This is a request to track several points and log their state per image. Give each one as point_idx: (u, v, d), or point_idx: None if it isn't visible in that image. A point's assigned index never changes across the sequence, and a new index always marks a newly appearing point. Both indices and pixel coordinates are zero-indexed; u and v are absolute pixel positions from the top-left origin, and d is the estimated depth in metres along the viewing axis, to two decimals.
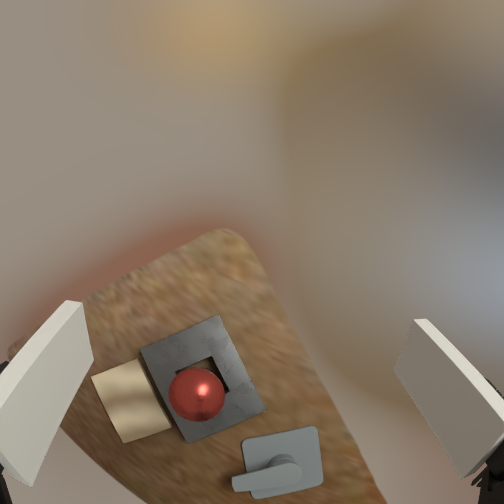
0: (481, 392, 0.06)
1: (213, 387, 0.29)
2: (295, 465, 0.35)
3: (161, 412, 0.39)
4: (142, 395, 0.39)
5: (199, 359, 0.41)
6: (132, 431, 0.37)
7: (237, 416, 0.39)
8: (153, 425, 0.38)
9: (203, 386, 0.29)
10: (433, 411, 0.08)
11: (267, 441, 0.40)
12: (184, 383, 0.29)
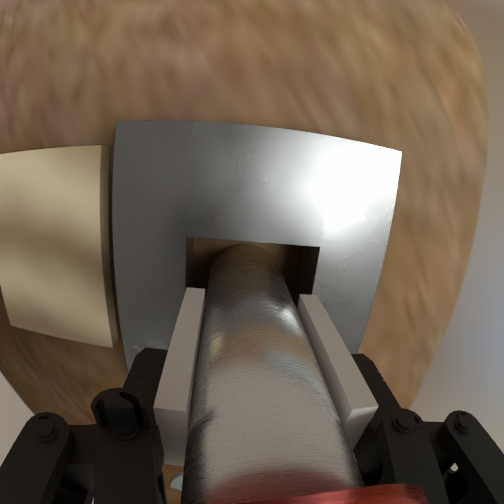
0: (336, 367, 0.08)
1: None
2: None
3: (102, 308, 0.16)
4: (73, 248, 0.14)
5: (280, 239, 0.13)
6: (29, 313, 0.15)
7: None
8: (75, 325, 0.16)
9: None
10: None
11: None
12: None
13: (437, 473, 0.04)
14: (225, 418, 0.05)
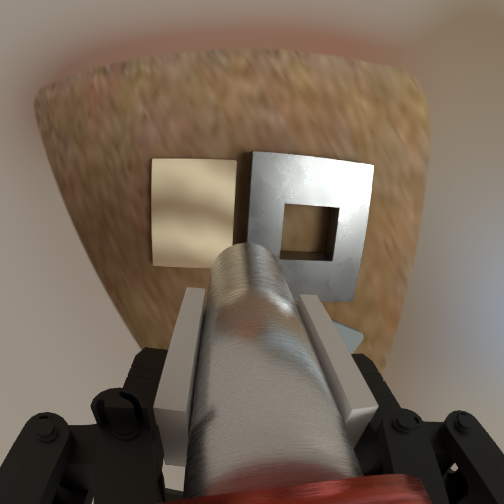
0: (336, 367, 0.08)
1: None
2: None
3: (229, 245, 0.33)
4: (216, 212, 0.32)
5: (323, 204, 0.30)
6: (173, 254, 0.33)
7: (320, 293, 0.33)
8: (208, 257, 0.33)
9: None
10: None
11: None
12: None
13: (437, 473, 0.04)
14: (227, 411, 0.06)
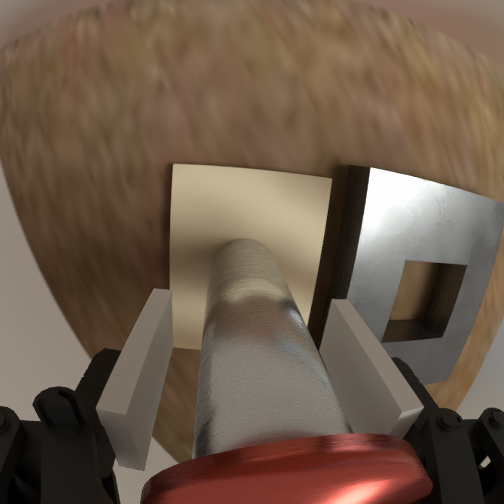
0: (380, 372, 0.08)
1: None
2: None
3: (304, 319, 0.19)
4: (289, 268, 0.18)
5: (451, 260, 0.17)
6: None
7: (417, 377, 0.20)
8: None
9: None
10: (344, 391, 0.10)
11: None
12: None
13: (474, 470, 0.04)
14: (232, 386, 0.06)
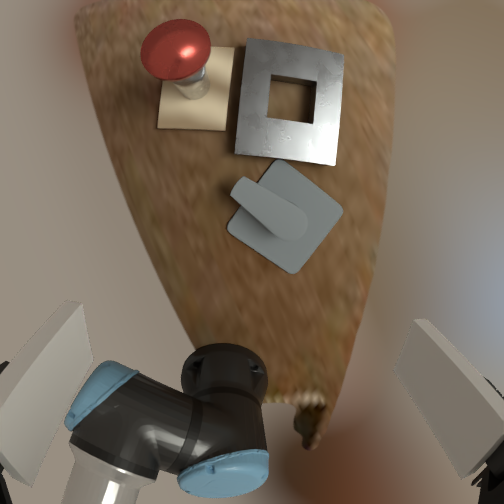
0: (481, 392, 0.06)
1: (199, 47, 0.20)
2: (306, 220, 0.37)
3: (225, 109, 0.35)
4: (216, 83, 0.34)
5: (303, 77, 0.33)
6: (176, 117, 0.35)
7: (304, 153, 0.36)
8: (206, 119, 0.36)
9: (189, 41, 0.20)
10: (433, 411, 0.08)
11: (297, 179, 0.40)
12: (171, 30, 0.19)
13: None
14: None
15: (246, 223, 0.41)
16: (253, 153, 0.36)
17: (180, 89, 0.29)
